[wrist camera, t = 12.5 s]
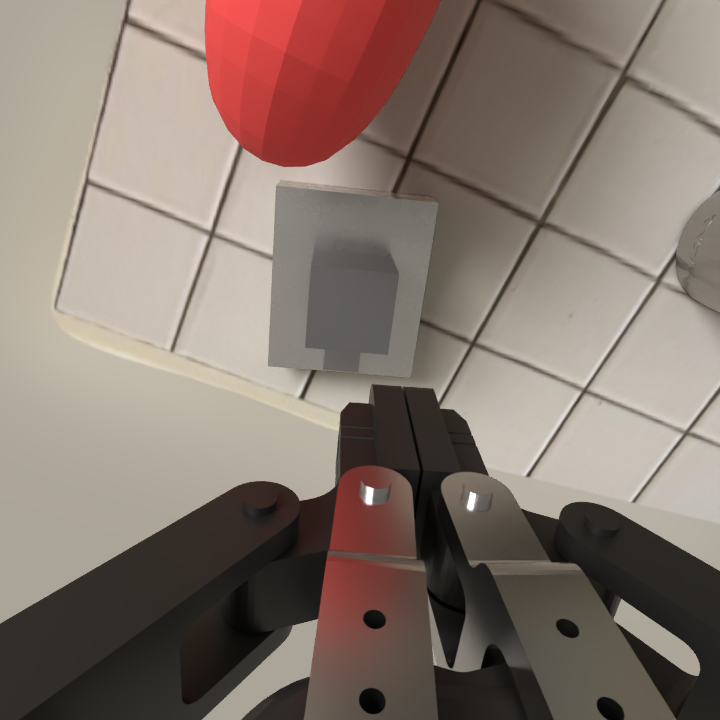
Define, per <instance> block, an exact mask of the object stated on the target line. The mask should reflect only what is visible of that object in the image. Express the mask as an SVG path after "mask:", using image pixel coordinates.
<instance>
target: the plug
mask: <svg viewBox="0 0 720 720" xmlns="http://www.w3.org/2000/svg"><path fill="white" fill-rule="evenodd" d="M398 280H399V272H398V270H397V267H396V265H395V262H394V260H393V257H392V256H382V255H372V254H362V253H352V252H342V251H332V250H322V249H314V252H313V257H312V262H311V271H310V285H309V298H308V312H307V326H306V339H305V348H312V349H324V350H336V351H347V352H359V353H371V354H383V355H388V351H389V344H390V337H391V330H392V323H393V316H394V308H395V301H396V294H397V287H398Z"/></svg>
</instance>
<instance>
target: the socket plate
mask: <svg viewBox="0 0 720 720" xmlns="http://www.w3.org/2000/svg"><path fill="white" fill-rule="evenodd" d="M438 206H439V203H438V202H437V201H435V200H434V199H433V198H432V197H428V196H419V195H410V194H401V193H392V192H382V191H373V190H364V189H355V188H346V187H337V186H328V185H318V184H309V183H300V182H291V181H282V180H281V181H280V182H279V183H278V184H277V185H276V201H275V223H274V245H273V267H272V289H271V311H270V333H269V355H268V366H273V367H285V368H297V369H309V370H321V371H333V372H346V373H358V374H370V375H382V376H394V377H406V378H411V373H412V367H413V361H414V354H415V348H416V342H417V336H418V330H419V323H420V317H421V311H422V305H423V299H424V292H425V286H426V280H427V274H428V268H429V261H430V255H431V249H432V243H433V237H434V231H435V224H436V218H437V212H438ZM314 249H322V250H332V251H342V252H352V253H362V254H372V255H382V256H392V257H393V260H394V262H395V265H396V267H397V270H398V272H399V280H398V287H397V294H396V301H395V308H394V316H393V323H392V330H391V337H390V344H389V351H388V355H383V354H371V353H359V352H347V351H336V350H324V349H312V348H305V339H306V326H307V312H308V298H309V285H310V271H311V262H312V257H313V252H314Z"/></svg>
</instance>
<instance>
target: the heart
mask: <svg viewBox="0 0 720 720" xmlns="http://www.w3.org/2000/svg"><path fill="white" fill-rule="evenodd" d="M439 2H440V0H206V5H205V46H206V59H207V69H208V78H209V86H210V90H211V94H212V98H213V101H214V103H215V105H216V107H217V109H218V111H219V113H220V115H221V117H222V119H223V121H224V123H225V125H226V127H227V129H228V130H229V132H230V133H231V134H232V135H233V136H234V137H235V139H236V140H237V141H238V142H239V143H240V144H241V146H242V147H243V148H244V149H246V150H247V151H249V152H250V153H252V154H253V155H255V156H256V157H258V158H259V159H261V160H262V161H266V162H269V163H272V164H276V165H279V166H283V167H302V166H309V165H312V164H315V163H318V162H321V161H324V160H327V159H328V158H330V157H331V156H332V155H334V154H335V153H336V152H338V151H339V150H341V149H342V148H343V147H345V146H346V145H347V144H349V143H350V142H352V141H353V140H354V139H355V138H356V137H357V136H358V135H359V134H360V133H361V132H362V131H363V130H364V129H365V128H366V127H367V126H368V124H369V123H370V122H371V121H372V120H373V119H374V117H375V116H376V115H377V114H378V112H379V111H380V110H381V108H382V107H383V106H384V104H385V103H386V101H387V100H388V98H389V97H390V95H391V94H392V92H393V91H394V89H395V88H396V86H397V84H398V83H399V81H400V79H401V78H402V76H403V74H404V72H405V71H406V69H407V67H408V65H409V63H410V61H411V59H412V57H413V55H414V53H415V51H416V50H417V48H418V46H419V44H420V42H421V40H422V38H423V36H424V34H425V32H426V30H427V28H428V26H429V24H430V22H431V20H432V18H433V15H434V13H435V11H436V9H437V7H438V5H439Z"/></svg>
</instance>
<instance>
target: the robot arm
mask: <svg viewBox="0 0 720 720" xmlns="http://www.w3.org/2000/svg"><path fill="white" fill-rule="evenodd" d="M676 269H677V274H678V278H679V280H680V282H681V285H682V287H683V289H684V290H685V291H686V292H687V293H688V294H689V295H690V296H691V297H692V298H693V299H695V300H696V301H698V302H700V303H701V304H703V305H705V306H707V307H709V308H711V309H713V310H715V311H717V312H719V313H720V190H719V191H718V192H716V193H715V194H714V195H712V196H711V197H710V198H709V199H707V200H706V201H705V202H704V203H703V204H702V205H701V206H700V207H699V208H698V209H697V210H696V211H695V212H694V214H693V215H692V217H691V218H690V220H689V221H688V223H687V224H686V226H685V228H684V230H683V233H682V235H681V237H680V240H679V244H678V248H677V252H676ZM621 599H623V600H624V601H626V602H627V603H629V604H630V605H632V606H633V607H634V608H636V609H637V610H639V611H640V612H642V613H643V614H645V615H646V616H647V617H649V618H650V619H652V620H653V621H655V622H656V623H658V624H659V625H661V626H662V627H663V628H665V629H666V630H668V631H669V632H671V633H672V634H674V635H675V636H677V637H678V638H680V639H681V640H682V641H684V642H685V643H686V644H687V645H689V647H690V648H691V649H692V650H693V651H694V653H695V654H696V656H697V658H698V660H699V663H700V673H699V676H694V675H690V674H688V673H686V672H684V671H682V670H681V669H680V668H678V667H677V666H675V665H674V664H673V663H671V662H670V661H668V660H667V659H666V658H664V657H663V656H662V655H660V654H659V653H657V652H656V651H655V650H653V649H652V648H650V647H649V646H648V645H646V644H645V643H644V642H642V641H641V640H639V639H638V638H637V637H635V636H634V635H633V634H631V633H630V632H628V631H627V630H626V629H624V628H623V627H621V626H620V625H619V624H617V623H616V622H615V621H614V616H615V613H616V611H617V608H618V605H619V603H620V601H621ZM315 619H318V624H317V631H316V638H315V645H314V652H313V659H312V666H311V674H310V677H307V678H304V679H301V680H298V681H296V682H293V683H291V684H289V685H288V686H286V687H284V688H282V689H280V690H278V691H277V692H275V693H273V694H272V695H270V696H269V697H267V698H266V699H264V700H263V701H262V702H261V703H259V704H258V705H257V706H256V707H255V708H253V709H252V710H251V711H250V712H249V713H248V714H247V715H246V716H245V717H244V718H243V719H242V720H720V571H719V570H717V569H715V568H713V567H712V566H710V565H708V564H706V563H705V562H703V561H701V560H699V559H698V558H696V557H694V556H692V555H691V554H689V553H687V552H686V551H684V550H682V549H680V548H679V547H677V546H675V545H673V544H672V543H670V542H668V541H667V540H665V539H663V538H661V537H660V536H658V535H656V534H654V533H653V532H651V531H649V530H648V529H646V528H644V527H642V526H641V525H639V524H637V523H635V522H634V521H632V520H630V519H628V518H627V517H625V516H623V515H621V514H620V513H618V512H616V511H614V510H612V509H610V508H607V507H605V506H602V505H599V504H595V503H589V502H575V503H571V504H568V505H566V506H565V507H564V508H563V509H562V511H561V513H560V516H559V520H558V519H554V518H550V517H547V516H543V515H540V514H536V513H532V512H529V511H526V510H524V509H521V508H520V506H519V505H518V503H517V501H516V500H515V498H514V496H513V494H512V493H511V491H510V490H509V489H508V488H507V487H506V486H505V485H504V484H502V483H501V482H499V481H498V480H496V479H494V478H492V477H490V476H489V475H488V472H487V470H486V468H485V465H484V463H483V460H482V458H481V455H480V453H479V451H478V448H477V446H476V443H475V441H474V438H473V436H471V431H470V429H469V426H468V424H467V422H466V420H464V419H463V418H462V417H461V416H460V415H459V414H458V413H457V412H455V411H454V410H450V409H440V407H439V404H438V401H437V398H436V395H435V392H434V390H433V389H430V388H417V387H403V388H402V387H401V386H388V385H375V384H372V385H371V389H370V397H369V404H365V403H351V402H349V404H348V405H347V406H346V407H345V408H344V409H343V410H342V412H341V415H340V426H339V437H338V448H337V458H336V481H335V487H334V488H333V489H332V490H331V491H330V492H328V493H326V494H325V495H322V496H320V497H317V498H313V499H309V500H303V501H299V499H298V497H297V495H296V494H295V493H294V492H293V491H292V490H290V489H289V488H287V487H285V486H283V485H281V484H278V483H273V482H266V481H256V482H249V483H245V484H242V485H239V486H237V487H235V488H233V489H231V490H229V491H228V492H226V493H224V494H222V495H221V496H219V497H217V498H215V499H214V500H212V501H210V502H209V503H207V504H205V505H203V506H202V507H200V508H199V509H196V510H195V511H193V512H191V513H190V514H188V515H186V516H184V517H183V518H181V519H179V520H178V521H176V522H174V523H172V524H171V525H169V526H167V527H166V528H164V529H162V530H161V531H159V532H157V533H155V534H154V535H152V536H150V537H148V538H147V539H145V540H143V541H141V542H140V543H138V544H136V545H135V546H133V547H131V548H129V549H128V550H126V551H124V552H123V553H121V554H119V555H117V556H116V557H114V558H112V559H111V560H109V561H107V562H105V563H104V564H102V565H100V566H99V567H97V568H95V569H93V570H92V571H90V572H88V573H87V574H85V575H83V576H81V577H80V578H78V579H76V580H74V581H73V582H71V583H69V584H68V585H66V586H64V587H63V588H61V589H59V590H57V591H56V592H54V593H52V594H50V595H49V596H47V597H45V598H44V599H42V600H40V601H38V602H37V603H35V604H33V605H32V606H30V607H28V608H26V609H25V610H23V611H21V612H19V613H18V614H16V615H14V616H13V617H11V618H9V619H7V620H6V621H4V622H2V623H1V624H0V720H202V719H203V718H204V717H205V716H206V715H207V714H208V713H209V712H210V711H211V710H212V709H213V708H214V707H216V706H217V705H218V704H219V703H220V702H221V701H222V700H223V699H224V698H225V697H226V696H227V695H228V694H229V693H230V692H231V691H232V690H233V689H235V687H237V686H238V685H239V684H240V683H241V682H242V681H243V680H244V679H245V678H246V677H247V676H248V675H249V674H250V673H251V672H252V671H253V670H254V669H256V667H258V666H259V665H260V664H261V663H262V661H264V660H265V659H266V658H267V657H268V656H269V655H270V654H271V653H272V652H273V651H275V650H276V649H277V648H278V647H279V646H280V645H281V644H282V643H283V642H284V641H285V640H286V638H287V637H288V636H289V634H290V632H291V629H292V625H296V624H300V623H304V622H308V621H312V620H315ZM432 646H433V650H434V654H435V658H436V662H437V666H435V665H433V652H432Z"/></svg>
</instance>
